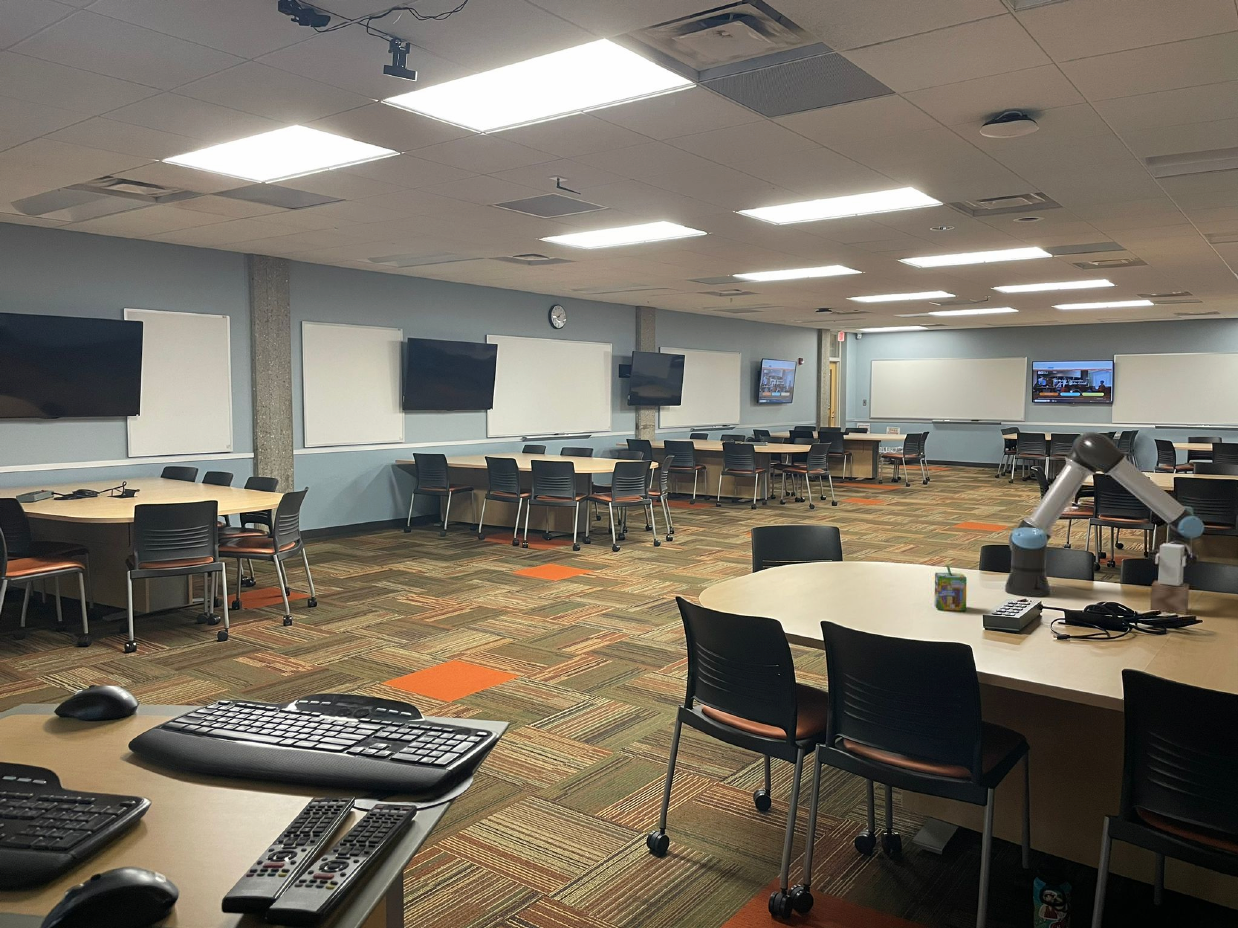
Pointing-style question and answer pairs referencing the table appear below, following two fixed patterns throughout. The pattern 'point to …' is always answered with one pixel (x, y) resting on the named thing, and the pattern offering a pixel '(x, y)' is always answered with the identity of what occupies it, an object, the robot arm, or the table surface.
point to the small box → (1171, 564)
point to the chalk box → (950, 591)
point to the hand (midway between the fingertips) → (1170, 560)
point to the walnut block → (1169, 598)
